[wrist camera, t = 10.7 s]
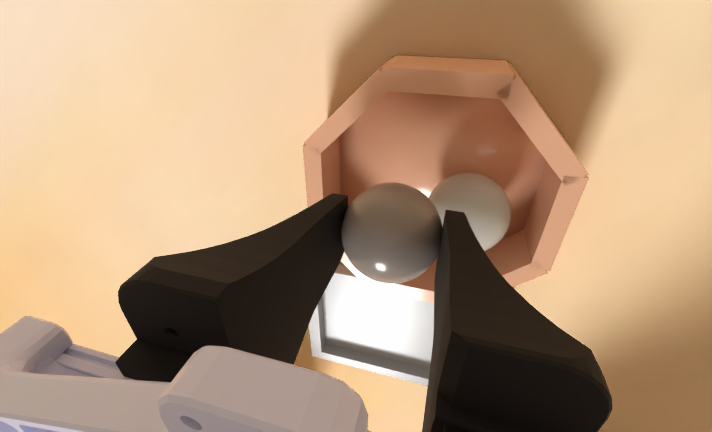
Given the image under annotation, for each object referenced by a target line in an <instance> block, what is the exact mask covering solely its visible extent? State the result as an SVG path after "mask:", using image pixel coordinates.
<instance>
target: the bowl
mask: <svg viewBox="0 0 712 432" xmlns="http://www.w3.org/2000/svg"><path fill="white" fill-rule="evenodd" d="M303 154H304V166H305V178H306V191H307V203H308V207H310V206H311V205H313V204H315V203H316V202H318V201H320V200H322V199H323V198H325V197H327V196H329V195H330V194H333V193H334V194H341V195H348V206H349V205H350V203H351V202H352V201H353V200H354V198H355V197H356V196H358V195H359V194H360V193H361V192H362V191H364V190H366V189H367V188H369V187H372V186H374V185H377V184H380V183H387V182H396V183H403V184H407V185H410V186H412V187H414V188H416V189H418V190H419V191H421V192H422V193H424V194H425V195H426V196H427V197H428V198H429V196H430V194H431V192H432V191H433V189H434V188H435V187H436V186H437V185H438V184H439V183H440V182H441V181H443V180H444V179H446V178H448V177H450V176H452V175H455V174H458V173H465V172H472V173H479V174H482V175H485V176H487V177H489V178H491V179H493V180H494V181H495V182H497V183H498V184H499V185H500V186H501V187H502V188H503V190H504V191H505V193H506V194H507V196H508V199H509V201H510V205H511V221H510V225H509V228H508V230H507V232H506V234H505V235H504V237H503V238H502V239H501V240H500V241H499V242H498V243H497V244H496V245H495V246H493V247H492V248H490V249H488V250H486V251H485V253H486V255H487V256H488V257H489V259H490V260H491V262H492V263H493V265H494V266H495V267H496V269H497V270H498V271H499V273H500V274H501V275H502V276H503V277H504V278H505V280H506V281H507V282H508V283H509V284H510V285H511V286H512V287H514V286H517V285H519V284H521V283H524V282H526V281H529V280H531V279H534V278H536V277H539V276H541V275H544V274H546V273H547V270H548V271H550V270H551V267H552V265H553V262H554V260H555V258H556V255H557V253H558V250H559V248H560V246H561V243H562V241H563V238H564V236H565V234H566V231H567V229H568V227H569V224H570V222H571V219H572V217H573V215H574V212H575V210H576V207H577V205H578V203H579V200H580V198H581V195H582V193H583V191H584V188H585V186H586V183H587V181H588V179H589V178H588V176H587V175H589V174H588V173H587V171H586V170H585V168H584V167H583V165H582V164H581V162H580V161H579V159H578V158H577V157H576V155H575V154H574V152H573V151H572V149H571V148H570V146H569V145H568V143H567V142H566V140H565V139H564V138H563V136H562V135H561V133H560V132H559V131H558V129H557V128H556V126H555V125H554V124H553V122H552V121H551V119H550V118H549V117H548V115H547V114H546V112H545V111H544V110H543V108H542V107H541V105H540V104H539V103H538V101H537V100H536V98H535V97H534V96H533V94H532V93H531V91H530V90H529V89H528V87H527V86H526V85H525V83H524V82H523V80H522V79H521V78H520V76H519V75H518V73H517V72H516V71H515V69H514V68H513V66H512V65H511V64H510V62H509V63H507V61H506V60H487V59H466V58H444V57H423V56H402V55H396V56H395V57H392V58H391V59H389V60H388V61H387V62H386V63H384V64H383V65H382V66H381V67H379V68H378V69H377V70H376V71H375V72H374V73H373V74H372V75H371V76H370V77H369V78H368V79H367V80H366V81H365V82H364V83H363V84H362V85H361V86H360V87H359V88H358V89H357V90H356V91H355V92H354V93H353V94H352V95H351V96H350V97H349V98H348V99H347V100H346V101H345V102H344V103H343V104H342V105H341V106H340V107H339V108H338V109H337V110H336V111H335V112H334V113H333V114H332V115H331V116H330V117H329V118H328V119H327V120H326V121H325V122H324V123H323V124H322V125H321V126H320V127H319V128H318V129H317V130H316V131H315V132H314V133H313V134H312V135H311V136H310V137H309V138H308V139H307V140H306V141H305V142H304V145H303ZM437 257H438V256H437ZM341 262H342V263H343V264H344V265H345V266H346V267H347V268H348V269H349V270H350V271H351V272H352V273H353V274H354V275H355V276H356V277H357V278H358V279H359V280H360V281H361V282H362V283H364V284H365V285H366V286H367V287H368V288H369V289H371V288H372V291H376V292H381V293H386V294H391V295H396V296H401V297H406V298H411V299H416V300H420V301H425V302H430V303H434V281H435V271H436V264H437V258H436V259H435V261H434V262H433V264H432V265H431V266H430V267H429V268H428V269H427V270H426V271H425V272H424V273H423V274H421V275H420V276H418V277H416V278H414V279H412V280H410V281H407V282H403V283H395V284H388V283H381V282H377V281H374V280H372V279H370V278H368V277H366V276H364V275H363V274H362V273H360V272H359V271H358V270H357V269H356V268H355V267H354V266H353V265H352V264H351V262H350V261H349V259H348V257H347V256H346V254H345V251H344V253H343V256H342V259H341Z"/></svg>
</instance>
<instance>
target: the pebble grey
mask: <svg viewBox="0 0 712 432" xmlns="http://www.w3.org/2000/svg"><path fill="white" fill-rule="evenodd" d="M429 199H430V200H431V201H432V203H433V204H434V205H435V207H436V209H437V211H438V213H439V215H440V218H441V222H442V228H443V222H444V216H445V211H446V210H452V211H459V212H464V213H465V215H466V216H467V219H468V222H469V224H470V226H471V228H472V230H473V232H474V234H475V236H476V238H477V240H478V241H479V243H480V245H481V246H482V248H483V250H484V251H486V250H488V249H490V248H492V247H493V246H495V245H496V244H497V243H498V242H499V241H500V240H501V239H502V238H503V237H504V235H505V234H506V232H507V230H508V228H509V225H510V221H511V205H510V201H509V199H508V196H507V194H506V193H505V191H504V190H503V188H502V187H501V186H500V185H499V184H498V183H497V182H495V181H494V180H493V179H491V178H489V177H487V176H485V175H482V174H479V173H472V172H465V173H458V174H455V175H452V176H450V177H448V178H446V179H444V180H443V181H441V182H440V183H439V184H438V185H437V186H436V187H435V188H434V189H433V191H432V192H431V194H430V196H429Z"/></svg>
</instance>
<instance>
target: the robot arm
mask: <svg viewBox="0 0 712 432" xmlns="http://www.w3.org/2000/svg"><path fill="white" fill-rule="evenodd" d="M347 208H348V195H341V194H334V193H333V194H330V195H329V196H327V197H325V198H323V199H322V200H320V201H318V202H316V203H315V204H313V205H311V206H310V207H308V208H306V209H305V210H303V211H301V212H299V213H298V214H296V215H294V216H292V217H290V218H288V219H286V220H284V221H282V222H280V223H278V224H277V225H274V226H272V227H270V228H268V229H265V230H263V231H260V232H258V233H255V234H253V235H250V236H247V237H244V238H241V239H238V240H235V241H232V242H228V243H225V244H222V245H218V246H214V247H210V248H205V249H201V250H196V251H191V252H185V253H179V254H173V255H166V256H159V257H154V258H153V259H152V260H151V261H149V262H148V263H147V264H146V265H145V266H144V267H142V268H141V269H140V270H139V271H138V272H136V273H135V274H134V275H133V276H132V277H130V278H129V279H128V280H127V281H126V282H124V283H123V284H122V285H121V286H120V289H119V291H118V297H119V304H120V307H121V309H122V311H123V313H124V315H125V317H126V319H127V321H128V323H129V325H130V326H131V328H132V330H133V332H134V334H135V336H136V338H137V340H136V341H135V342H134V343H133V344H132V345H131V346H130V347H129V348H128V349H127V350H126V351H125V352H124V353H123V354H122V355H121V356H120V358H119V357H116V356H113V355H109V354H106V353H103V352H99V351H96V350H93V349H89V348H86V347H83V346H79V345H76V344H73V343H72V340H71V338H70V336H69V335H68V333H67V332H66V331H65V330H64V329H63V328H62V327H60V326H59V325H57V324H55V323H52V322H49V321H45V320H42V319H39V318H35V317H32V316H25V317H23V318H22V319H20V320H19V321H18V322H16V323H15V324H13V325H12V326H11V327H9V328H8V329H7V330H5V331H4V332H2V333H1V334H0V432H371V431H369V430H368V429H367V427H368V413H367V411H366V408H365V406H364V403H363V400H362V399H361V397H360V395H358V394H357V393H356V392H355V391H354V390H353V389H352V388H350V387H349V386H348V385H347V384H346V383H345V382H343V381H341V380H339V379H336V378H334V377H332V376H329V375H327V374H325V373H322V372H319V371H315V370H311V369H307V368H304V367H300V366H296V365H294V362H295V359H296V357H297V354H298V351H299V349H300V346H301V343H302V341H303V338H304V335H305V333H306V330H307V328H308V325H309V323H310V320H311V318H312V315H313V313H314V311H315V309H316V307H317V305H318V303H319V301H320V299H321V297H322V295H323V293H324V292H325V290H326V288H327V286H328V284H329V282H330V280H331V278H332V277H333V275H334V273H335V271H336V269H337V267H338V265H339V263H340V261H341V259H342V256H343V253H344V248H343V245H342V239H341V226H342V221H343V217H344V215H345V212H346V210H347ZM611 411H612V398H611V395H610V392H609V389H608V387H607V384H606V381H605V378H604V376H603V374H602V371H601V369H600V367H599V365H598V363H597V361H596V359H595V357H594V355H593V353H592V351H591V349H589V348H588V347H586V346H585V345H583V344H582V343H580V342H579V341H577V340H576V339H575V338H573V337H572V336H570V335H569V334H567V333H566V332H564V331H563V330H561V329H560V328H559V327H557V326H556V325H555V324H553V323H552V322H551V321H550V320H548V319H547V318H546V317H545V316H543V315H542V314H541V313H540V312H538V311H537V310H536V309H535V308H534V307H533V306H532V305H530V304H529V303H528V302H527V301H526V300H525V299H524V298H523V297H522V296H521V295H520V294H519V293H518V292H517V291H516V290H515V289H514V288H513V287H512V286H511V285H510V284H509V283H508V282H507V281H506V280H505V278H504V277H503V276H502V275H501V274H500V273H499V271H498V270H497V269H496V267H495V266H494V265H493V263H492V262H491V260H490V259H489V257H488V256H487V255H486V253H485V251H484V250H483V248H482V246H481V245H480V243H479V241H478V240H477V238H476V236H475V234H474V232H473V230H472V228H471V226H470V224H469V222H468V219H467V216H466V215H465V213H464V212H459V211H452V210H446V211H445V216H444V222H443V230H442V237H441V244H440V250H439V253H438V257H437V264H436V271H435V281H434V335H433V347H432V356H431V364H430V373H429V381H428V389H427V397H426V405H425V413H424V421H423V429H422V432H598V430H599V429H600V428H601V427H602V425H603V424H604V423H605V421H606V420H607V419H608V417H609V415H610V413H611Z"/></svg>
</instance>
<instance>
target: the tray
mask: <svg viewBox="0 0 712 432" xmlns="http://www.w3.org/2000/svg"><path fill="white" fill-rule="evenodd" d="M309 332H310V341H311V351H312V356H314V357H318V358H321V359H325V360H329V361H333V362H337V363H341V364H345V365H348V366H352V367H356V368H360V369H364V370H368V371H372V372H375V373H379V374H383V375H387V376H391V377H395V378H399V379H403V380H406V381H410V382H414V383H418V384H422V385H426V386H428V381H429V373H430V364H431V356H432V347H433V335H434V303H430V302H425V301H420V300H416V299H411V298H406V297H401V296H396V295H391V294H386V293H381V292H376V291H372V288H371V289H369V288H368V287H367V286H366V285H365V284H364V283H362V282H361V281H360V280H359V279H358V278H357V277H356V276H355V275H354V274H353V273H352V272H351V271H350V270H349V269H348V268H347V267H346V266H345V265H344V264H343V263H342V262H341V261H340V263H339V265H338V267H337V269H336V271H335V273H334V275H333V277H332V278H331V280H330V282H329V284H328V286H327V288H326V290H325V292H324V293H323V295H322V297H321V299H320V301H319V303H318V305H317V307H316V309H315V311H314V313H313V315H312V318H311V320H310V323H309Z"/></svg>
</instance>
